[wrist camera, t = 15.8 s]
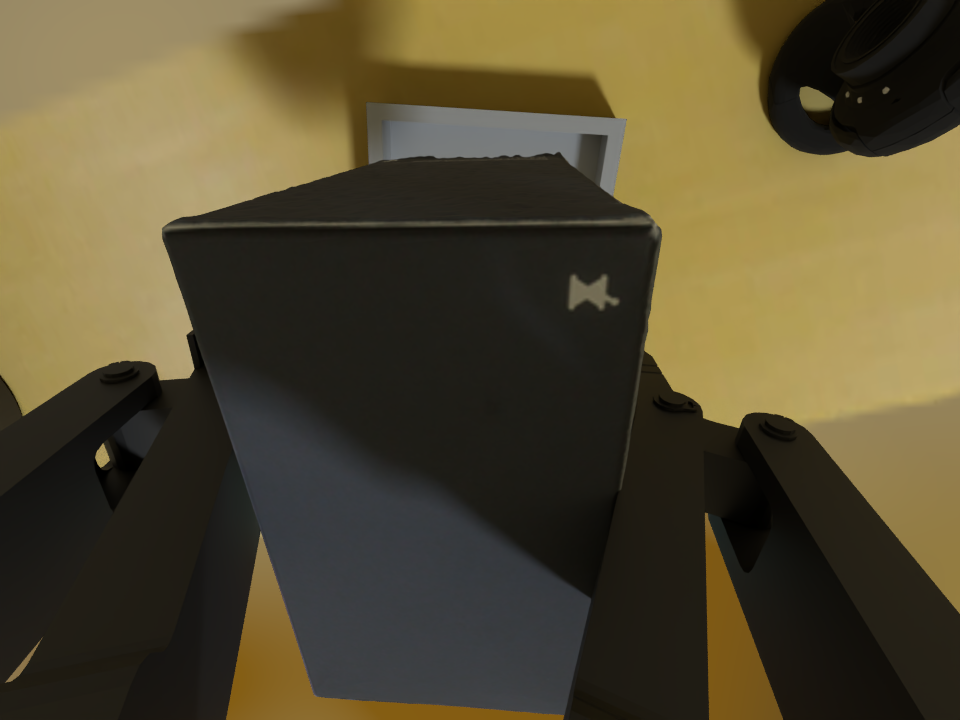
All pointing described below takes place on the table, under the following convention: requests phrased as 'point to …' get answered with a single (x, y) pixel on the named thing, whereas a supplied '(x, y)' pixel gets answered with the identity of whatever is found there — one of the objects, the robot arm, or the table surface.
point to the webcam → (870, 76)
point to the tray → (496, 136)
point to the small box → (429, 411)
